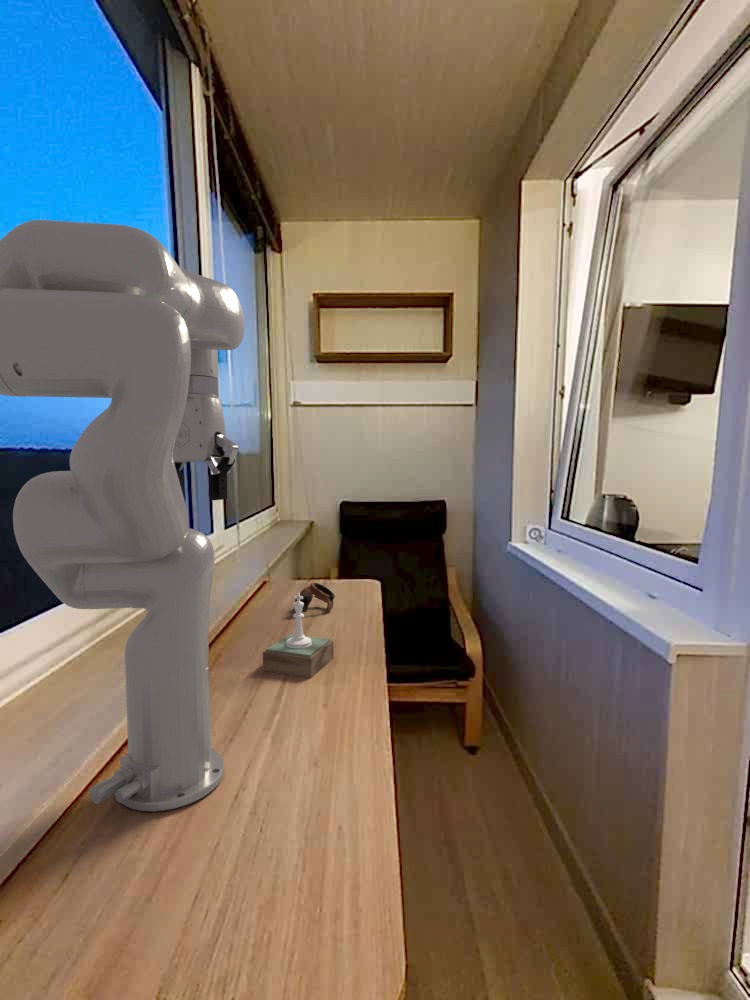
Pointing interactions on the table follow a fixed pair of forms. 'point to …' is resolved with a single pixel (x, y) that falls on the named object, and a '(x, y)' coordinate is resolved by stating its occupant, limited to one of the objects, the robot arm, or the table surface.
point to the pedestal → (298, 657)
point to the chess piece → (298, 628)
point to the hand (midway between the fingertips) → (196, 498)
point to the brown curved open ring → (319, 593)
